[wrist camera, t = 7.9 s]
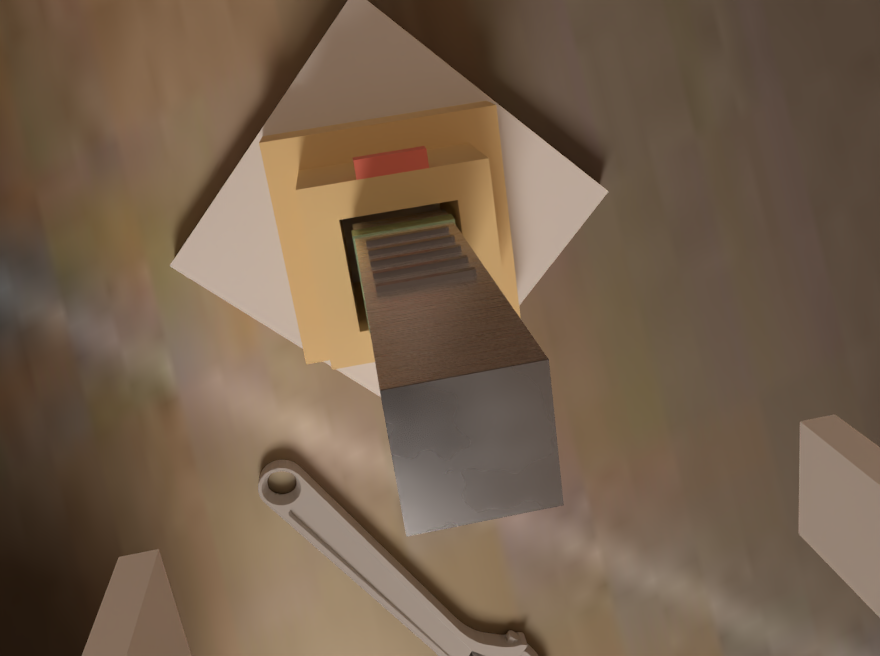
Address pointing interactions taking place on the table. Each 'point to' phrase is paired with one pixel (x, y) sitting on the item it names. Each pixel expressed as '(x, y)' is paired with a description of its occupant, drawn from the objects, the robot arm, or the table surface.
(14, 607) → the table surface
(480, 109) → the stand
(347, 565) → the adjustable wrench
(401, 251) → the column
